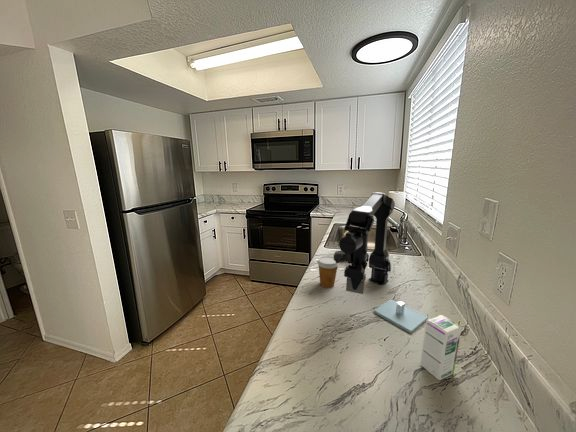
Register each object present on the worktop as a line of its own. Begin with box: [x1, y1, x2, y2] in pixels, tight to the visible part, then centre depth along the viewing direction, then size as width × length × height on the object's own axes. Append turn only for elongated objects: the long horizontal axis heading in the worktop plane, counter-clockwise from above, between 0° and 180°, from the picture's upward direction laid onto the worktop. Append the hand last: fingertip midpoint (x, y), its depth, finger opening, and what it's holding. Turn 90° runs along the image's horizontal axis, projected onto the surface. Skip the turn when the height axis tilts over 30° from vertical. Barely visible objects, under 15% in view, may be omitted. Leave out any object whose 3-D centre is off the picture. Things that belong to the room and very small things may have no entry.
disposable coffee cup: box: [316, 255, 340, 289], centre depth 108 cm, size 10×10×12 cm
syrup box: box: [420, 314, 462, 382], centre depth 64 cm, size 6×6×14 cm
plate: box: [373, 299, 429, 334], centre depth 87 cm, size 14×12×1 cm
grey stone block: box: [396, 301, 406, 315], centre depth 87 cm, size 2×3×4 cm
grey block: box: [345, 273, 367, 295], centre depth 88 cm, size 6×6×5 cm
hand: (355, 285), depth 88 cm, fingers closed on grey block, 6 cm apart
